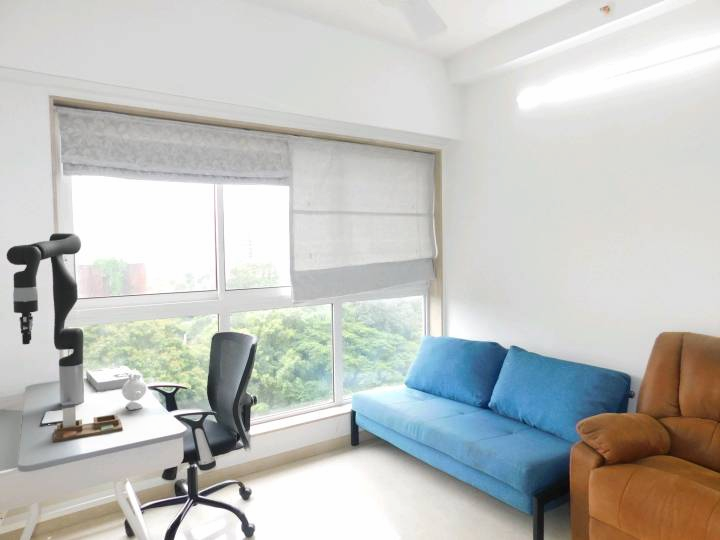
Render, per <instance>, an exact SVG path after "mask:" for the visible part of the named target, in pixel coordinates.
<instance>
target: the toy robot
mask: <svg viewBox="0 0 720 540" xmlns="http://www.w3.org/2000/svg"><path fill="white" fill-rule="evenodd" d="M141 376H142V375H141V374H140V373H136V374H132V376H131V374H128V377H129V379H130V380H128V381H127V382H126V383H125V384H124V385H123V388H120V389H121V390H120V391H121V393H122V396H123V398H125V400H126V401H127V400H128V401H129V402H128V403H126V405H125V408H128V411H133V410H138V409H142V408H143V407H144V406H143V405H142V404H141V403H140V402H139V400H140V399H142V398H143V397H144V396H145V395H146V391H147V384H146V382H145V381H143V380H142V379H141Z"/></svg>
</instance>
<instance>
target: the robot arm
mask: <svg viewBox="0 0 720 540" xmlns="http://www.w3.org/2000/svg"><path fill="white" fill-rule="evenodd" d="M81 247H82V241H81V238H80V237H79V235H77V234H75V233H68V232H67V233H63V232H62V233H59V232H58V233H52V234H51V235H50V237H49V240H44V241H43V240H42V241H39V242H35V243H31V244H21V245H14V246H12V247H10V248H9V249H8V250H7V252H6V260H7V261H8V262H9V263H10V264H12V265H14V266H25V268H24V270H20V271H17V272H15V273H13V293H12V294H13V295H12V296H13V297H12V298H13V302H12V304H13V312H14V313H15V314H21V316H20V317H19V329H20V333H21V336H22V337H21V339H22V345H29V344H31V341H32V329H33V321H34V317H33V315H32V313H35V312H38V311H39V305H38V304H39V302H38V300H39V299H38V298H39V297H38V288H37V287H38V286H37V275H38V272H39V267H40V263H41V261H44V260H46V259H49V258H50V263H51V270H52V296H53V311H54V313H53V314H54V320H53V321H54V323H53V324H54V325H53V328H54V329H53V343H54V347H55V349H56V350H59V351H60V350H61V351H63V350H72V353H70V354H68V355H66V356H64V357H61V358H59V360H58V374H59V375H58V376H59V404H60V406H62V403H64V402H71V401H75V405H79V404H82V403H84V401H85V389H84V388H85V384H84V382H85V381H84V379H85V378H84V332H83V330H82V328H79V327H77V328H76V327H74V328H65V322H66V319H67V317H68V315H69V313H70V312H71V310H72V309H73V308H74V306H75V305H76V303H77V301H78V297H79V296H78V283H77V281H76V279H75V278H74V276H73V275H72V274H71V272H70V271H69V270H68V268H67V267H66V264H65V261H64V255H76V254H78V253H79V251H80V250H81Z"/></svg>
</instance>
